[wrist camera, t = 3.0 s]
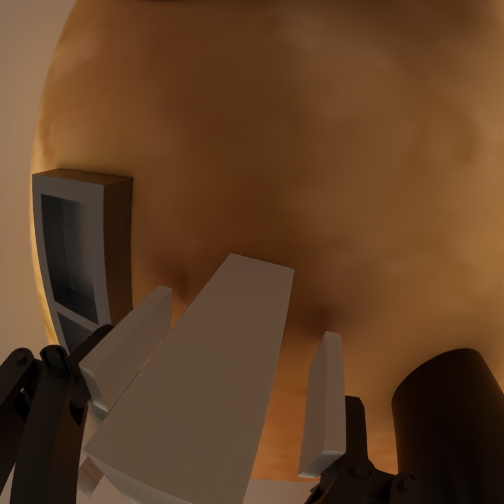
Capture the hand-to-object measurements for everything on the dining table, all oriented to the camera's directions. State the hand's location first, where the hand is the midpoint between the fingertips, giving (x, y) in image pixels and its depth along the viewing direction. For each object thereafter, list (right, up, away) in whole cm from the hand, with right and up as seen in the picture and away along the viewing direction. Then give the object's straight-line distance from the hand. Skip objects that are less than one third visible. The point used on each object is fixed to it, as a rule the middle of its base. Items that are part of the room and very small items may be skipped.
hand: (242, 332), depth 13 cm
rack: (-13, -4, +7) cm, 15 cm away
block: (+1, +1, +2) cm, 2 cm away
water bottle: (+15, -7, +2) cm, 17 cm away
